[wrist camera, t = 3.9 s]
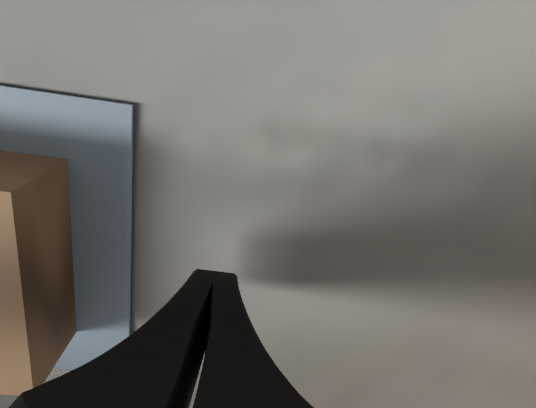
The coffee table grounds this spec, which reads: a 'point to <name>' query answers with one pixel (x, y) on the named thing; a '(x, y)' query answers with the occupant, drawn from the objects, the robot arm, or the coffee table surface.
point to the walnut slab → (34, 269)
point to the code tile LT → (85, 202)
